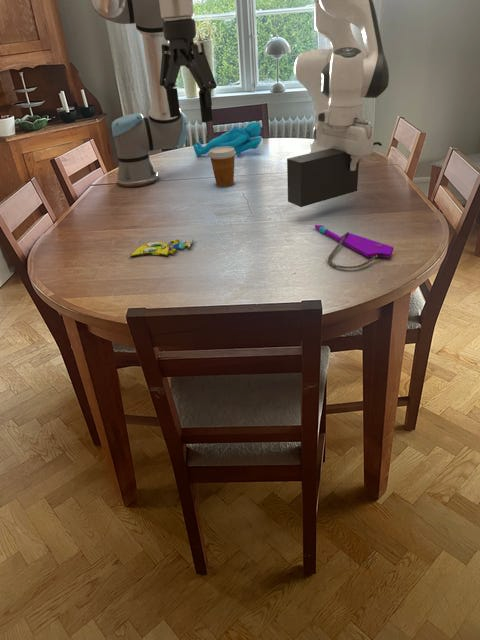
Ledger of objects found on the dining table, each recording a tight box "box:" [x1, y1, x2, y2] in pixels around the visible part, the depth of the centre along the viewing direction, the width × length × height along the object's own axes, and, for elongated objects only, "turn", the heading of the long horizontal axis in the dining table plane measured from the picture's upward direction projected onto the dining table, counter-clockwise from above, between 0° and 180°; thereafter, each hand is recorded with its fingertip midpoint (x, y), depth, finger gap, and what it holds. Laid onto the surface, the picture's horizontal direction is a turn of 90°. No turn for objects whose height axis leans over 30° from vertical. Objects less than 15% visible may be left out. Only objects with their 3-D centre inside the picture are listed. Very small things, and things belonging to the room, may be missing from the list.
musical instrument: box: [314, 224, 394, 269], centre depth 119 cm, size 24×2×20 cm
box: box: [286, 148, 360, 208], centre depth 136 cm, size 20×6×12 cm, turn 121°
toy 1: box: [130, 238, 194, 258], centre depth 128 cm, size 10×1×15 cm
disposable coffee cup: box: [208, 146, 236, 187], centre depth 169 cm, size 10×10×12 cm
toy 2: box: [192, 121, 263, 157], centre depth 205 cm, size 17×11×30 cm
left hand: (190, 119), depth 120 cm, fingers open, 13 cm apart
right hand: (342, 167), depth 138 cm, fingers closed on box, 6 cm apart
